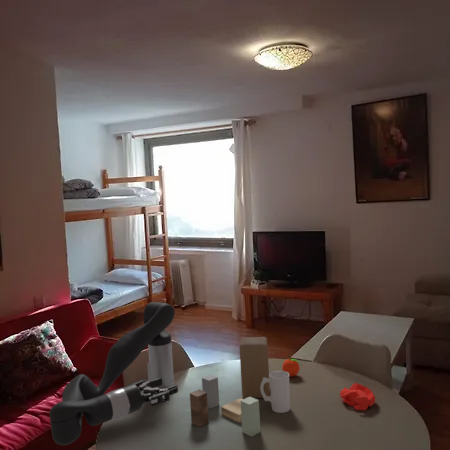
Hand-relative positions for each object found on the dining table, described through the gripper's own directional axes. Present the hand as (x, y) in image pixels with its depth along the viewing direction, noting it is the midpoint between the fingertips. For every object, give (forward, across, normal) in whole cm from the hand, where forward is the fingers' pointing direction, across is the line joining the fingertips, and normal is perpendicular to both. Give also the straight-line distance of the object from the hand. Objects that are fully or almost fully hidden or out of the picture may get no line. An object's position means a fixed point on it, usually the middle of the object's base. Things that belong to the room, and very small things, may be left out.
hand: (169, 384), depth 140 cm
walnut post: (+11, 0, -16) cm, 20 cm away
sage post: (+18, +16, -16) cm, 29 cm away
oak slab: (+24, +5, -17) cm, 30 cm away
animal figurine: (+58, +28, -17) cm, 67 cm away
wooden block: (+40, -3, -16) cm, 43 cm away
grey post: (+22, -8, -16) cm, 28 cm away
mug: (+35, +11, -16) cm, 40 cm away
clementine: (+61, -4, -16) cm, 63 cm away
